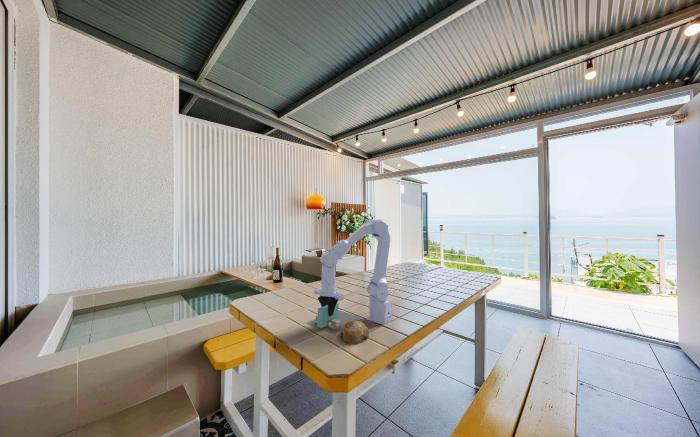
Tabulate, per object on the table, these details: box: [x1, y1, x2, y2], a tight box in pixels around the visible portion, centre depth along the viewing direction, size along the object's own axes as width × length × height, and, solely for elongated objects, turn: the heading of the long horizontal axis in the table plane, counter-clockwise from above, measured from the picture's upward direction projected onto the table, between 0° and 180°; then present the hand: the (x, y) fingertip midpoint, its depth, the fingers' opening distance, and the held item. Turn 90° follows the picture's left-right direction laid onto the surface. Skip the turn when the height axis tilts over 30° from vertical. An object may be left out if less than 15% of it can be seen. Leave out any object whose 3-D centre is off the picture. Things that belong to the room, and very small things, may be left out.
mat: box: [305, 310, 364, 335], centre depth 105 cm, size 16×20×1 cm
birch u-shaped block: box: [315, 314, 341, 330], centre depth 100 cm, size 12×2×3 cm, turn 53°
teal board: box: [317, 302, 340, 329], centre depth 100 cm, size 2×10×7 cm, turn 142°
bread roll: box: [339, 321, 370, 344], centre depth 90 cm, size 10×10×8 cm
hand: (328, 314), depth 100 cm, fingers closed on teal board, 2 cm apart
